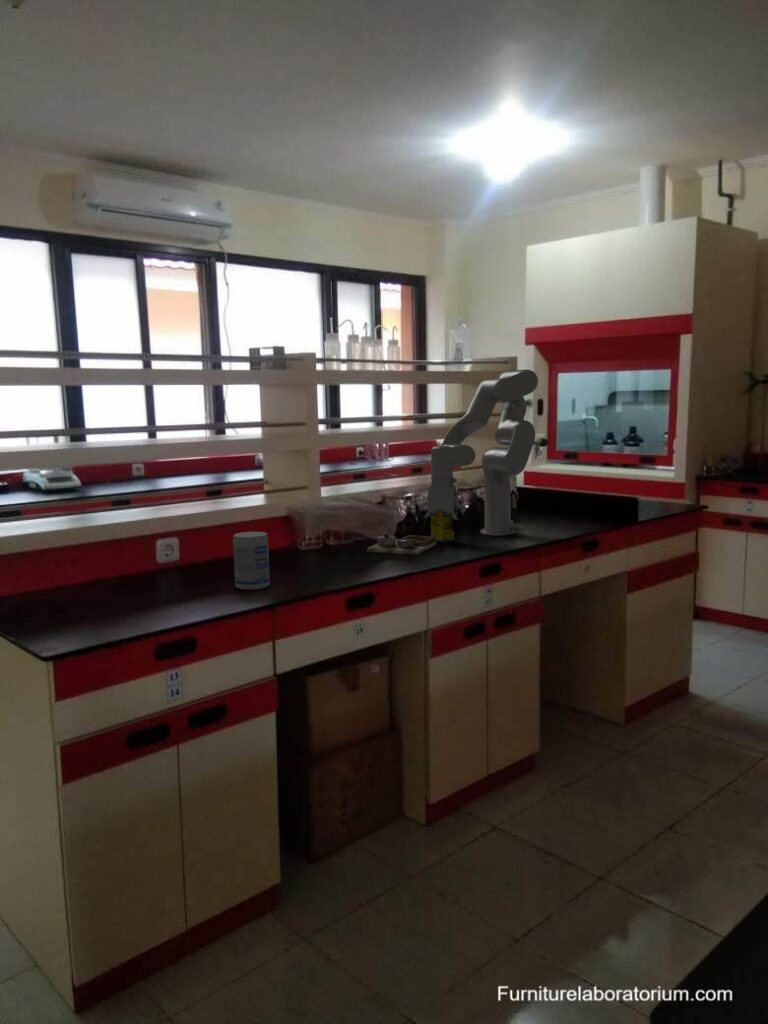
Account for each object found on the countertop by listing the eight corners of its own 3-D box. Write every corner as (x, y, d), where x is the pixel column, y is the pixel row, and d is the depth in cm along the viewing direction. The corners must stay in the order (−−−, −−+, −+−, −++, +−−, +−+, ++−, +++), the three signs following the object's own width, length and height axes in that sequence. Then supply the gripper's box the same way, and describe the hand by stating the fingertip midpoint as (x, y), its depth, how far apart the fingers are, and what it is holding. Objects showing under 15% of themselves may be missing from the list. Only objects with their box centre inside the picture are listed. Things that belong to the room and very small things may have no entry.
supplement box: (442, 543, 271) (442, 512, 269) (430, 541, 275) (430, 510, 274) (454, 541, 274) (454, 510, 273) (443, 539, 279) (442, 508, 277)
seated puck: (416, 546, 260) (416, 539, 260) (411, 549, 256) (411, 542, 255) (402, 545, 262) (402, 538, 262) (397, 548, 258) (396, 541, 257)
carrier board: (436, 544, 269) (436, 529, 268) (417, 554, 253) (417, 538, 252) (388, 541, 276) (388, 526, 275) (367, 551, 260) (366, 535, 259)
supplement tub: (263, 591, 210) (261, 537, 208) (230, 590, 212) (227, 537, 209) (274, 582, 220) (272, 531, 217) (242, 582, 221) (239, 530, 219)
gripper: (469, 481, 272) (469, 529, 274) (422, 479, 278) (422, 526, 281) (462, 483, 265) (462, 533, 267) (414, 481, 272) (415, 530, 274)
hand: (442, 529), depth 274 cm, fingers open, 9 cm apart
